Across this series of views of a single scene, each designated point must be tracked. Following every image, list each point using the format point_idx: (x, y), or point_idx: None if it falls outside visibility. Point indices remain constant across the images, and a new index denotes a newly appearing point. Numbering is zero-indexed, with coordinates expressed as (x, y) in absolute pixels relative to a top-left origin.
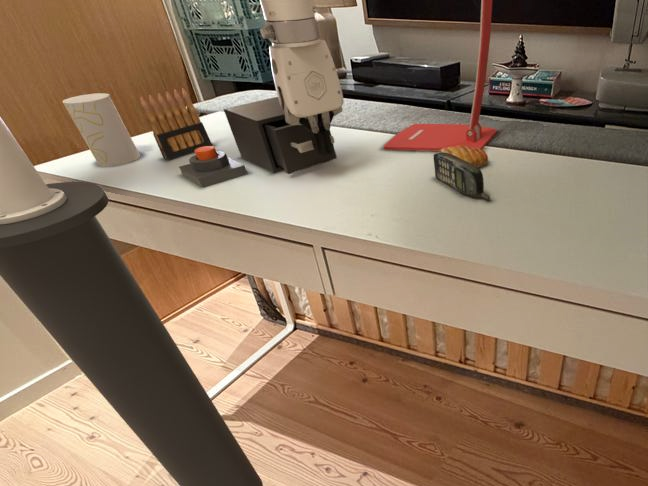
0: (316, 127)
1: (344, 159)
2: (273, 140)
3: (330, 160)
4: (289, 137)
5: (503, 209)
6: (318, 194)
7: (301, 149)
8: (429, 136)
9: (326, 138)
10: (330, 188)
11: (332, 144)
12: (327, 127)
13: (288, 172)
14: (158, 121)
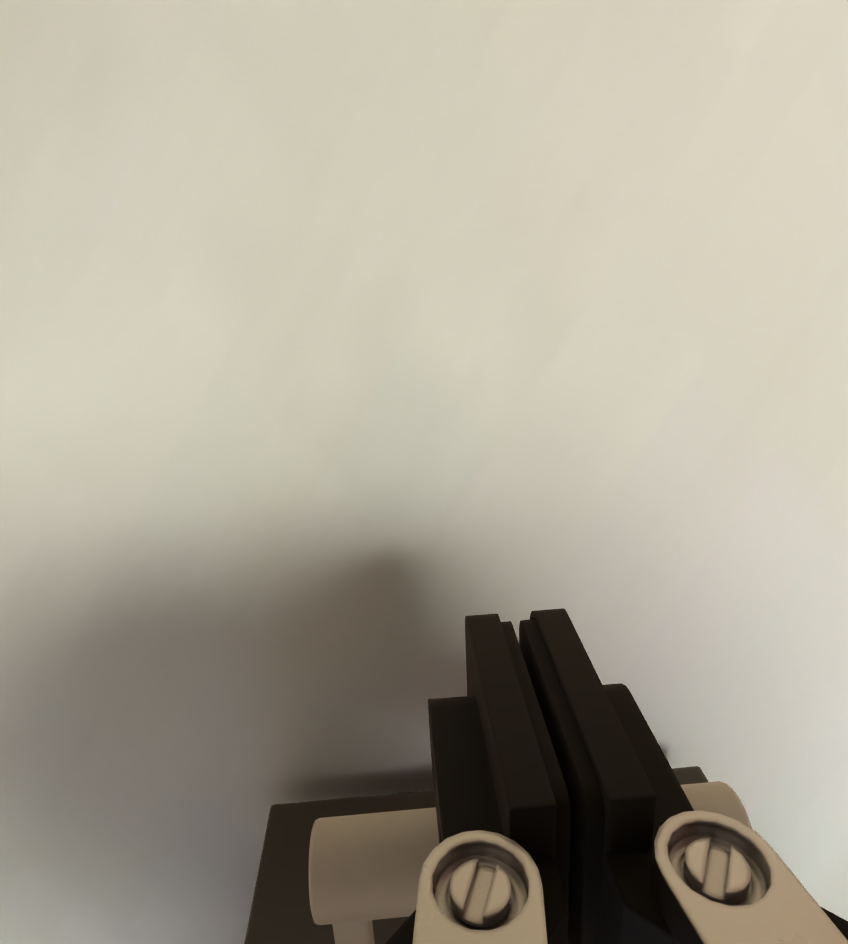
0: (692, 901)
1: (196, 811)
2: None
3: (331, 800)
4: None
5: None
6: (746, 318)
7: (737, 796)
8: None
9: (531, 727)
10: (607, 360)
11: (260, 911)
12: (476, 873)
13: (701, 773)
14: None
